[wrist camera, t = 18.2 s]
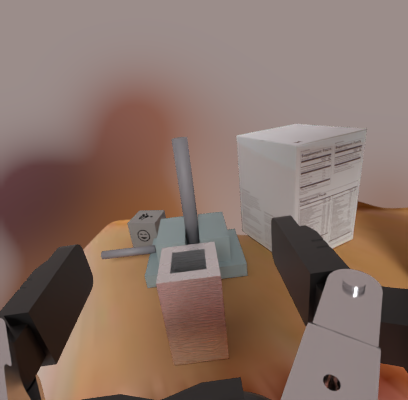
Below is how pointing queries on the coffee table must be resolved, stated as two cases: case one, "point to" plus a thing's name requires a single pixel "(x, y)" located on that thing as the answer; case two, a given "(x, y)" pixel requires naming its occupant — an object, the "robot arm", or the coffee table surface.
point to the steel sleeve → (192, 303)
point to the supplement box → (301, 179)
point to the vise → (189, 228)
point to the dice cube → (145, 227)
